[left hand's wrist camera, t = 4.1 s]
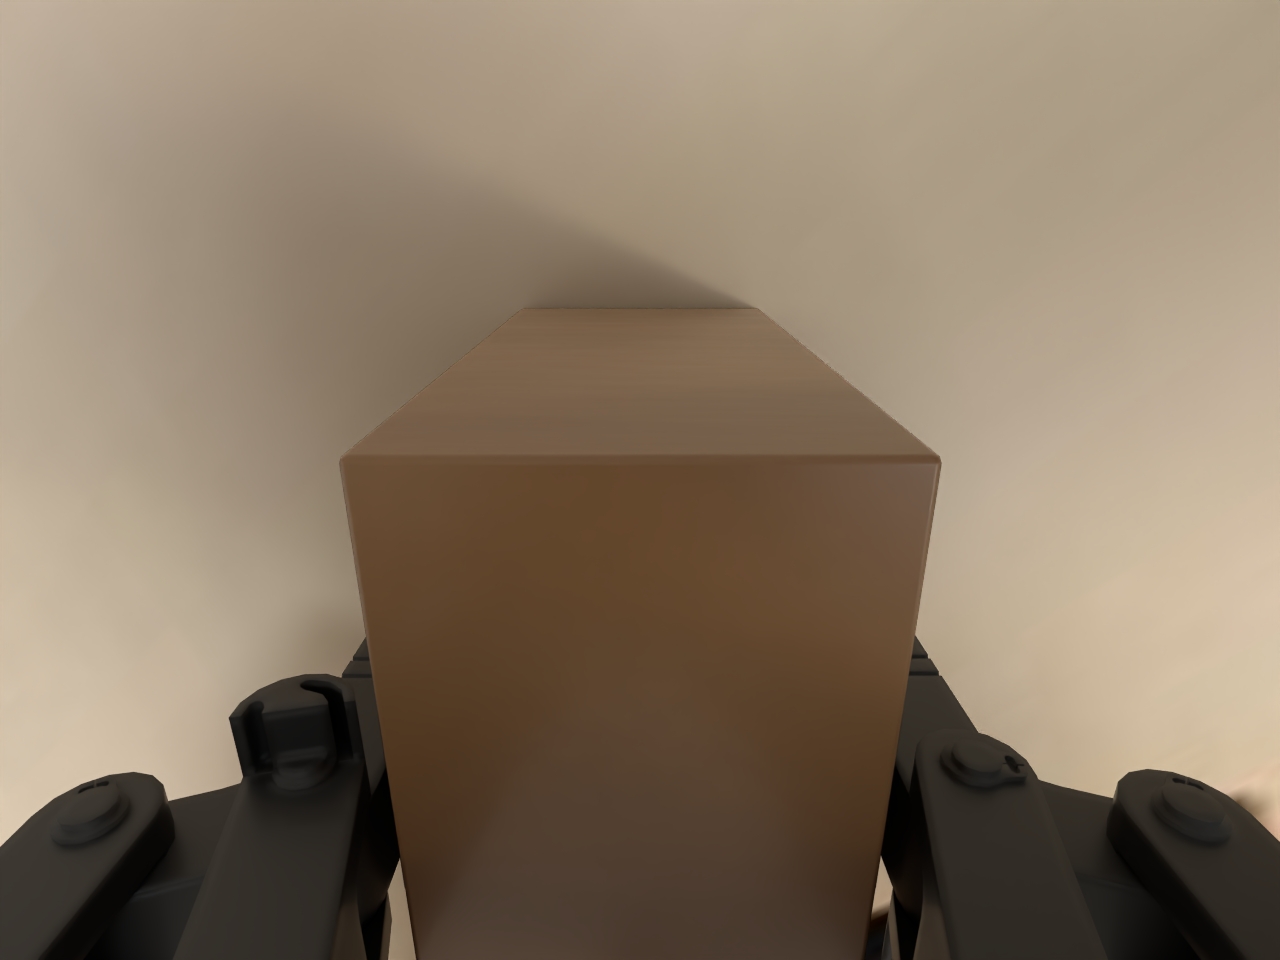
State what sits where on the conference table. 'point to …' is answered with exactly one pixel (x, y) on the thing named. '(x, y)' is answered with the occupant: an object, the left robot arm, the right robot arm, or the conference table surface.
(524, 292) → the conference table surface
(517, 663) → the beam
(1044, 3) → the conference table surface
